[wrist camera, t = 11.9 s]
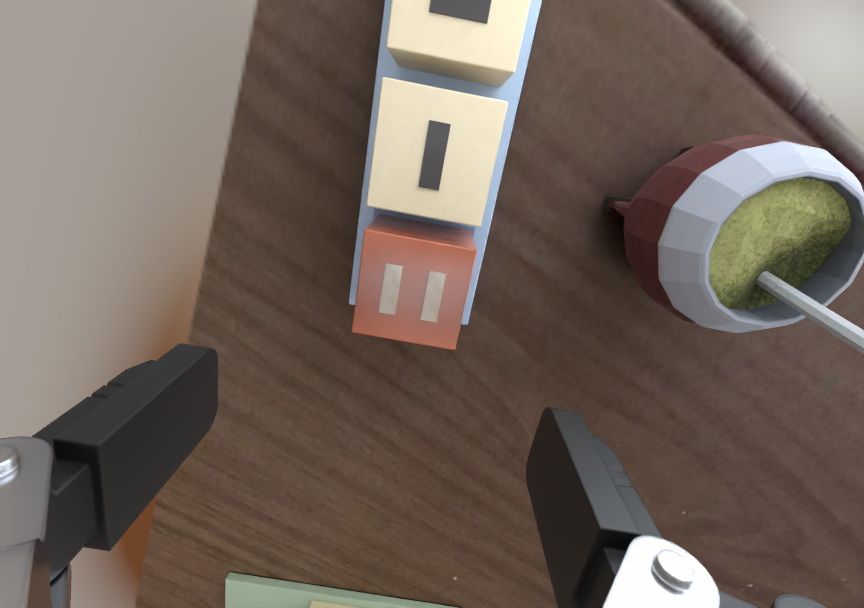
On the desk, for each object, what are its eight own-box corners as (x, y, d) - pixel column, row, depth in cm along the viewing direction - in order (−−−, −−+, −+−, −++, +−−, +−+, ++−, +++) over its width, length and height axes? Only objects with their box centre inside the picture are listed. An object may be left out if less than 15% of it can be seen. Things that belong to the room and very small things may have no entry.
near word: (466, 321, 23) (471, 362, 19) (350, 300, 23) (328, 337, 19) (549, -41, 18) (583, -101, 13) (395, -73, 17) (378, -145, 13)
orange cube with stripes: (378, 213, 21) (363, 229, 17) (471, 230, 21) (477, 250, 17) (366, 300, 22) (351, 333, 19) (453, 316, 23) (455, 351, 19)
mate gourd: (620, 123, 20) (1054, 78, 6) (783, 158, 20) (1578, 195, 6) (571, 276, 22) (784, 503, 8) (716, 304, 23) (1158, 569, 9)
